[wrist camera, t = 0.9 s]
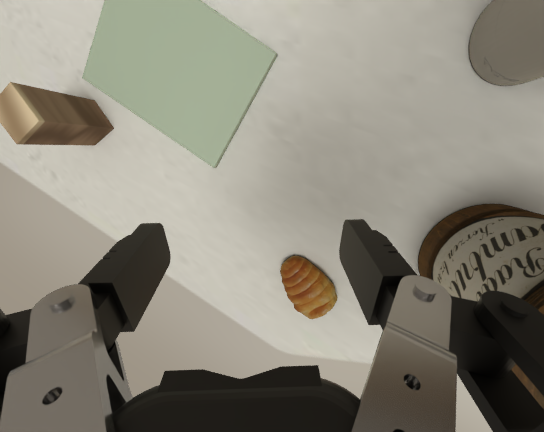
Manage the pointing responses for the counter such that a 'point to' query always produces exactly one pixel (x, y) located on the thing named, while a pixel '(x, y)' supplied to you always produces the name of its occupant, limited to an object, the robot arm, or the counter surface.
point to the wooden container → (489, 258)
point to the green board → (178, 69)
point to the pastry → (307, 287)
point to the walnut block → (51, 117)
